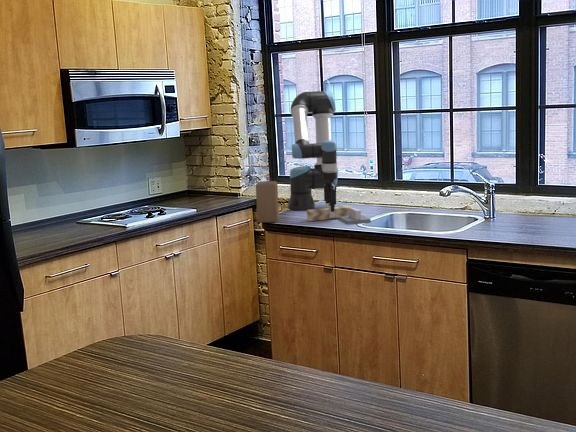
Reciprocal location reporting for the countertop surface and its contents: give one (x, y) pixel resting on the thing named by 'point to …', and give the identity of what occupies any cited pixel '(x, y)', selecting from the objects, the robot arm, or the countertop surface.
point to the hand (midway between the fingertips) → (330, 216)
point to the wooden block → (267, 201)
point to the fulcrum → (354, 217)
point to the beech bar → (327, 213)
